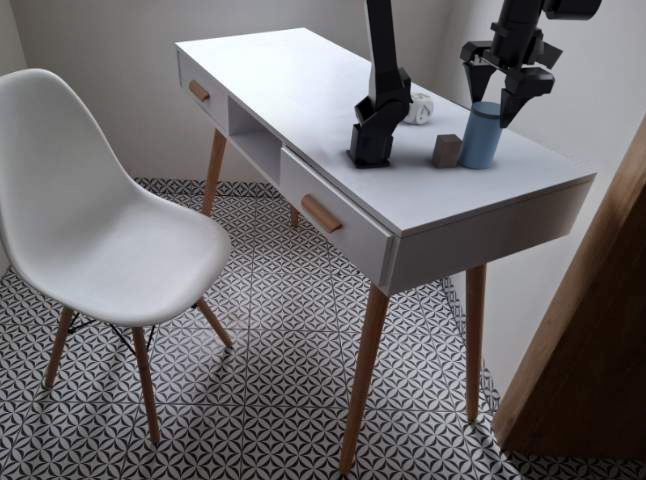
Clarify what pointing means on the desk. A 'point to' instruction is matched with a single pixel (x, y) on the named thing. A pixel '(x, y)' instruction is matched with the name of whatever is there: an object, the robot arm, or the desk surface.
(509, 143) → the desk surface
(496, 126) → the blue canister
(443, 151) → the small dark brown block
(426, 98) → the die
